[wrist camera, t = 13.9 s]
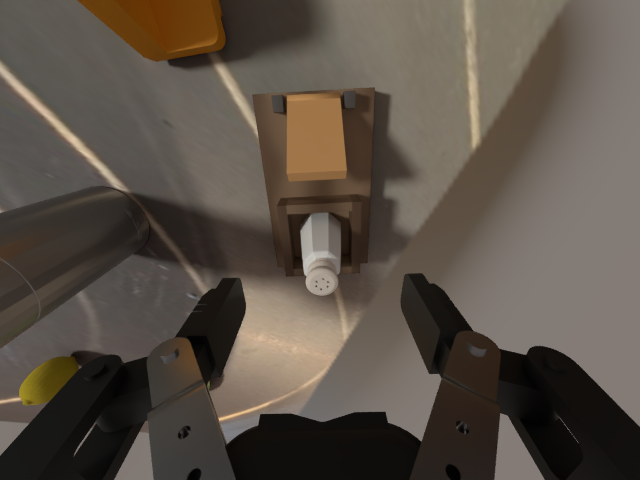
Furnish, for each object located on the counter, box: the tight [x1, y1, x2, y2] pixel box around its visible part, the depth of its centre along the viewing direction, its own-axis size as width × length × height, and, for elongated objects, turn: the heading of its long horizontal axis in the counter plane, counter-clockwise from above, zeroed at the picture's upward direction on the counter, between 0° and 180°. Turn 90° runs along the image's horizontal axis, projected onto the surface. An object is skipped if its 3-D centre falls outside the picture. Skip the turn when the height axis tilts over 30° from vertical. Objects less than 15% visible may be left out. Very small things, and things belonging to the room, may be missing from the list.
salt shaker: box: [300, 212, 341, 296], centre depth 25 cm, size 5×5×11 cm
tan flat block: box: [287, 92, 347, 182], centre depth 22 cm, size 5×9×1 cm
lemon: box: [19, 356, 79, 405], centre depth 39 cm, size 6×6×8 cm
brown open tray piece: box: [252, 87, 375, 276], centre depth 28 cm, size 12×20×5 cm, turn 3°
